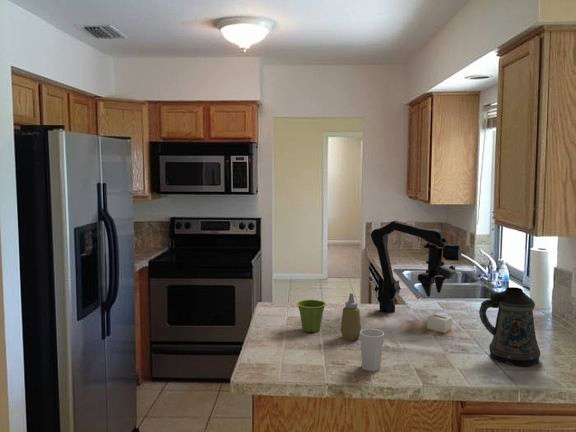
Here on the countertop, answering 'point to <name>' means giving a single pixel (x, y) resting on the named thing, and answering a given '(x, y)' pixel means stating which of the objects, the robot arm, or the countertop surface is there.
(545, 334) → the countertop surface
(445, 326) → the white slotted box
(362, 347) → the cup
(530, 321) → the beer stein
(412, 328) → the base board
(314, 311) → the plant pot
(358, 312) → the squeeze bottle
